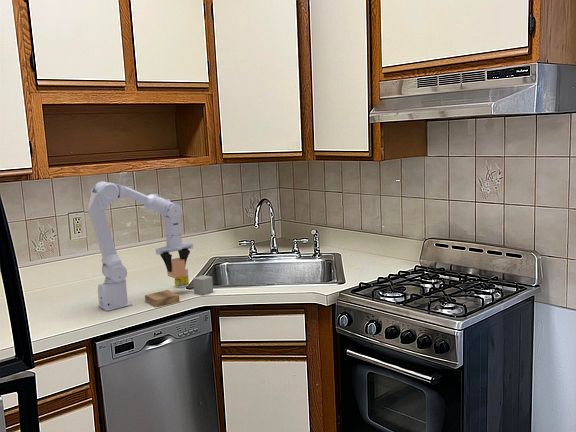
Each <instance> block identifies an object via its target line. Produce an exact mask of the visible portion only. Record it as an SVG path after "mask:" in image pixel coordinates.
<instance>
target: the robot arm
mask: <svg viewBox="0 0 576 432" xmlns="http://www.w3.org/2000/svg"><path fill="white" fill-rule="evenodd" d="M122 198H127V199H130V200H133V201H136V202H139V203H141V204H143V205H144V208H145V209H146V210H149V211H152V212H153V213H157V214H160V215H162V216H163V217H164V228H165V240H166V241H165V242H166V245H165V246H162V247H159V248H155V254H156V255H158V256H159V255H160V257H161V260H163V263H164V265H165V268H166V270H167V271H168V272H172V267H171V259H173V258H172V257H173V254H171V253H173V252H178V255H179V257H178V258H181V259H184V260H185V266H186V264H187V260H188V257H189V256H190V253H191V250H192V249H194V244H193V243H192V242H188V243H183V239H182V225H181V224H182V223H181V217H182V215H183V210H184V209H182V206H180V205H181V204H179V203H176V202H171V199H168V198H167V199H166V198H164V197H161V196H160V195H159V194H158V193H150V194H149V195H146V194H144V193H142V192H139V191H137V190H135V189H133V188H130V187H128V186H126V185H123V184H122V185H121V184H117V183H114V182H107V181H104V180H101V181H98V182H96V183H95V185H94V186H93V187H92V189H90V198H89V202H88V205H87V211H88V214H89V219H90V221H91V225H92V228H93V231H94V234H95V238H96V241H97V244H98V247H99V250H100V254H101V257H102V258H101V264H102V266H101V273H102V274H103V276H104V282H103V283H100V284H98V285H97V295H98V307H99V308H101V309H102V310H104V311H106V312H107V311H111V310H116V309H120V308H125V307H129V306H132V305H133V303H131V302H130V301H128V289H127V280H126V278H127V276H128V270H127V267H126V266H124V265H123V263H122V260H121V258H120V257H119V255H118V253H117V249H116V245H115V243H114V239H113V236H112V233H111V230H110V225H109V223H108V219H107V216H106V213H105V211H106V210H107V208H108V207H109V205H110V204H111V203H113V202H114V201H116V199H122ZM190 249H191V250H190ZM186 267H187V266H186ZM167 271H166V272H167Z"/></svg>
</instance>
